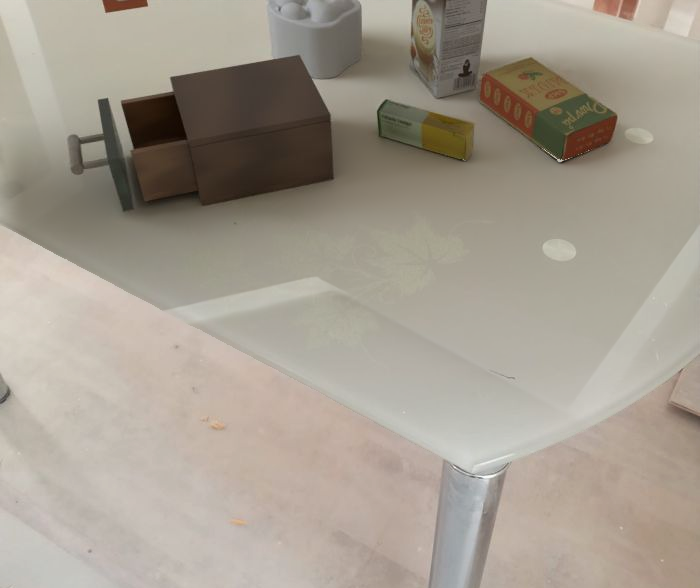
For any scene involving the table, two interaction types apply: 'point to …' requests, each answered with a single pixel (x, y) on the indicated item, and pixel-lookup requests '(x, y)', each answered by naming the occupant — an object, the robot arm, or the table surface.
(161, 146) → the drawer
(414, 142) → the medication box
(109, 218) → the table surface
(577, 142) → the carton
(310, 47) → the lumpy-topped squat cylinder
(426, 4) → the coffee box
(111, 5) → the block
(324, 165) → the cabinet
